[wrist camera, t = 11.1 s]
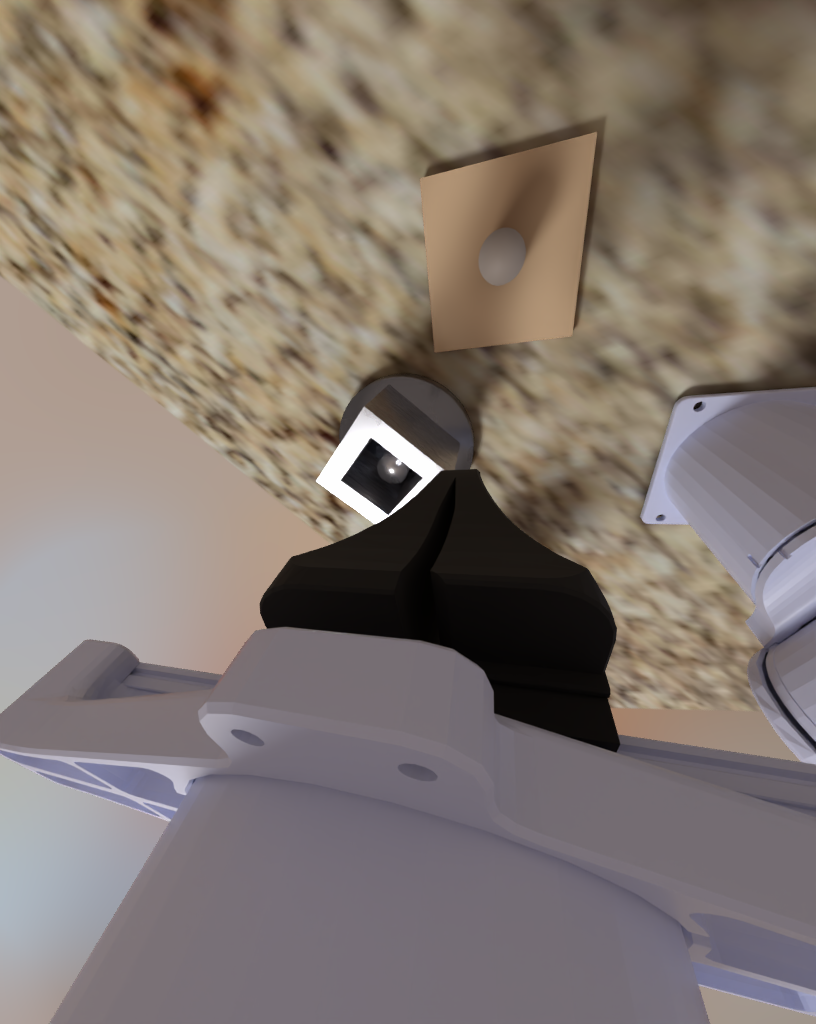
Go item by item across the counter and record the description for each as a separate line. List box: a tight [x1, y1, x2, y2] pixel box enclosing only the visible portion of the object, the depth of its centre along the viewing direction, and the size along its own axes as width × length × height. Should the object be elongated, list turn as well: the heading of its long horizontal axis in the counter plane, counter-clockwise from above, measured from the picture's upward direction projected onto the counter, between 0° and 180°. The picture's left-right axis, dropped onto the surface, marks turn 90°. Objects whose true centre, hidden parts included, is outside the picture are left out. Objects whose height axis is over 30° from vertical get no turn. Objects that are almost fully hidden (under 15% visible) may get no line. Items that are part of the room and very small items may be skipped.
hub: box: [339, 374, 474, 484], centre depth 20 cm, size 9×9×4 cm
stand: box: [420, 132, 597, 353], centre depth 14 cm, size 7×7×4 cm
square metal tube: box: [316, 384, 461, 524], centre depth 19 cm, size 6×6×4 cm
